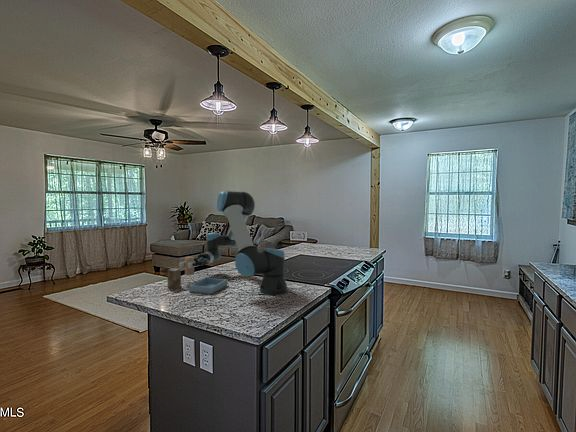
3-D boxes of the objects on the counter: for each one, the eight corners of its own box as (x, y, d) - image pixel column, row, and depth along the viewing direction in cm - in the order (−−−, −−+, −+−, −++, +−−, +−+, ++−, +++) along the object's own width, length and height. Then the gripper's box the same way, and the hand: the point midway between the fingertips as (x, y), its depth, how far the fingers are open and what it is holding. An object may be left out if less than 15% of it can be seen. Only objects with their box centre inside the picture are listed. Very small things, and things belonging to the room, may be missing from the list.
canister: (195, 273, 187) (195, 256, 187) (190, 275, 182) (190, 258, 182) (188, 272, 188) (188, 256, 188) (183, 274, 184) (183, 257, 183)
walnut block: (180, 286, 180) (180, 268, 179) (175, 288, 175) (175, 270, 174) (173, 285, 181) (173, 268, 180) (167, 287, 176) (167, 270, 176)
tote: (227, 285, 182) (227, 279, 182) (212, 294, 165) (212, 287, 165) (206, 283, 186) (206, 277, 186) (189, 291, 169) (189, 285, 169)
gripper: (218, 265, 200) (198, 273, 178) (192, 263, 205) (170, 271, 183) (217, 253, 200) (198, 259, 178) (192, 252, 205) (170, 258, 182)
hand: (184, 265), depth 180 cm, fingers closed on canister, 5 cm apart
